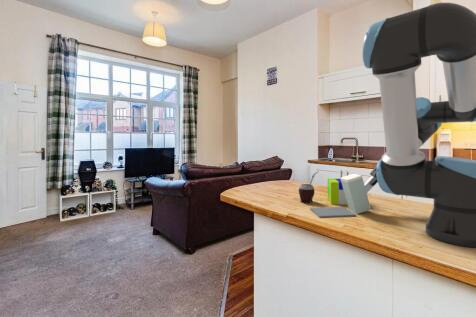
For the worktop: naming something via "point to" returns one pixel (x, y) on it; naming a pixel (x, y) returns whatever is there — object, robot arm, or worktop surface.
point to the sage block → (355, 193)
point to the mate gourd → (307, 192)
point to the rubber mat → (332, 212)
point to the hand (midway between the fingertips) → (363, 190)
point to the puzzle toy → (336, 192)
